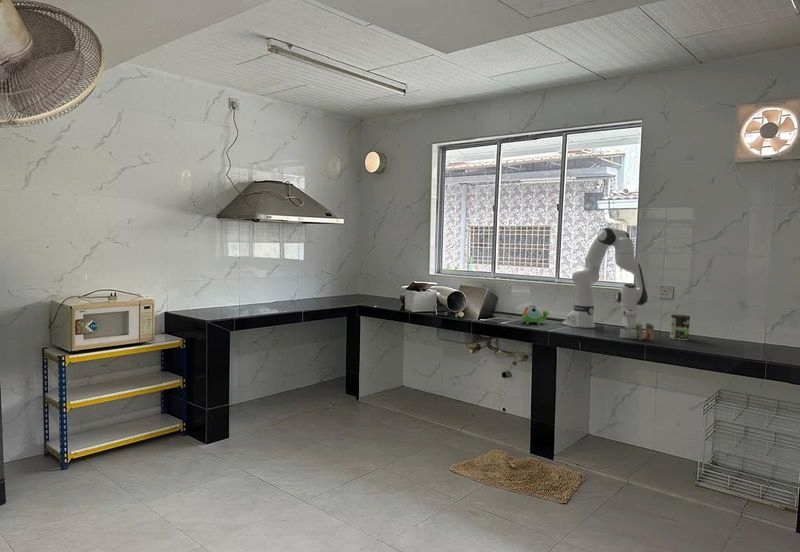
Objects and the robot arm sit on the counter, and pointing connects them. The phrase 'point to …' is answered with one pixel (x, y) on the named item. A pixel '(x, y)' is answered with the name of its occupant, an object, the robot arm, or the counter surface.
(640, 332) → the collar
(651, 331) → the collar
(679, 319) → the coffee can
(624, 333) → the tube
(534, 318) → the turtle holder
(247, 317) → the counter surface
